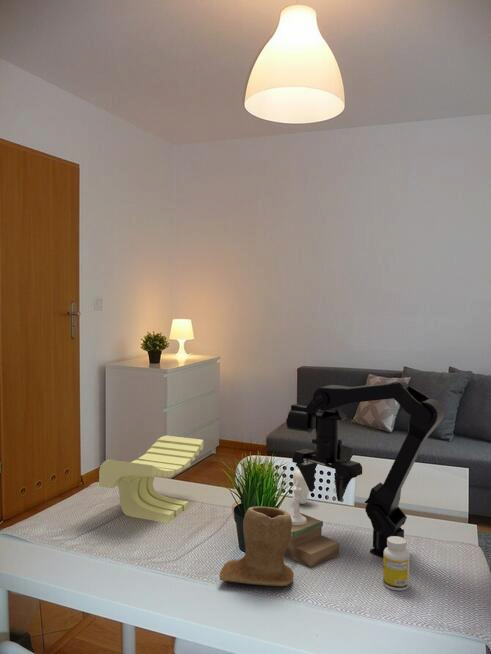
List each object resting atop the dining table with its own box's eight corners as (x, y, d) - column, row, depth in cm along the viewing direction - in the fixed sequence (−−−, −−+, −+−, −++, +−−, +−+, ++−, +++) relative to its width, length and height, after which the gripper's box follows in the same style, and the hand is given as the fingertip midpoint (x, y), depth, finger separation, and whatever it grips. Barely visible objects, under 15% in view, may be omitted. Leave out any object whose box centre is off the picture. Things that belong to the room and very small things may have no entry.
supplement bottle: (389, 576, 125) (390, 532, 124) (413, 584, 121) (414, 539, 121) (378, 585, 121) (379, 540, 120) (402, 594, 117) (403, 547, 117)
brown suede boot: (295, 568, 128) (296, 502, 127) (291, 595, 116) (293, 522, 115) (228, 562, 130) (230, 497, 130) (218, 588, 118) (219, 517, 118)
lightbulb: (312, 508, 166) (313, 470, 165) (291, 506, 167) (292, 469, 166) (314, 501, 172) (314, 465, 171) (293, 499, 173) (294, 463, 172)
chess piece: (283, 522, 137) (283, 481, 137) (291, 516, 142) (292, 476, 141) (302, 526, 135) (303, 485, 135) (309, 520, 139) (310, 479, 139)
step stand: (338, 555, 135) (339, 528, 135) (309, 567, 128) (309, 539, 128) (298, 537, 145) (299, 512, 144) (269, 548, 138) (269, 522, 138)
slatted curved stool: (156, 490, 179) (157, 434, 178) (202, 497, 173) (203, 439, 172) (98, 524, 151) (99, 458, 150) (151, 534, 145) (152, 465, 144)
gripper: (376, 437, 143) (374, 499, 144) (319, 425, 157) (318, 481, 158) (348, 444, 136) (347, 509, 136) (291, 430, 149) (290, 489, 150)
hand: (325, 496), depth 145 cm, fingers open, 9 cm apart
